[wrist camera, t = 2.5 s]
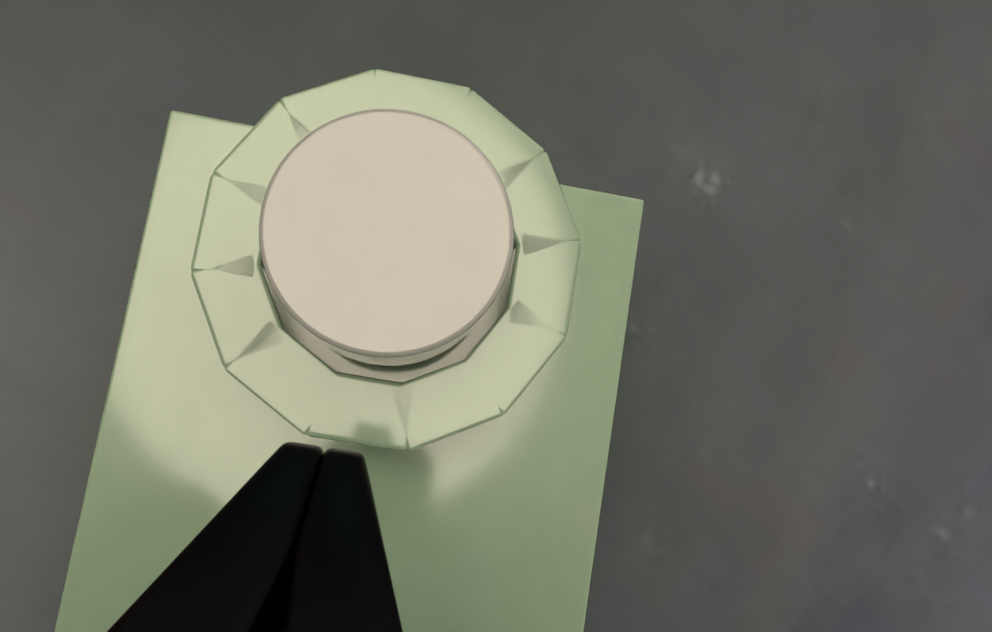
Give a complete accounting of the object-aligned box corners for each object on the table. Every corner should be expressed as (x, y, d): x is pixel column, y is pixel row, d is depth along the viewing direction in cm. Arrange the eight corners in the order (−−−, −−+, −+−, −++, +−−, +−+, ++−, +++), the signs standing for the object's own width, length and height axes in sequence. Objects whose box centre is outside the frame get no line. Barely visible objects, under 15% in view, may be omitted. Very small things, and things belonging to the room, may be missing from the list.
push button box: (523, 698, 21) (582, 840, 14) (126, 645, 20) (-20, 769, 13) (595, 214, 23) (679, 128, 16) (232, 146, 22) (151, 22, 15)
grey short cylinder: (478, 382, 15) (493, 377, 13) (263, 346, 15) (234, 333, 12) (512, 177, 16) (532, 132, 13) (305, 137, 15) (284, 84, 13)
